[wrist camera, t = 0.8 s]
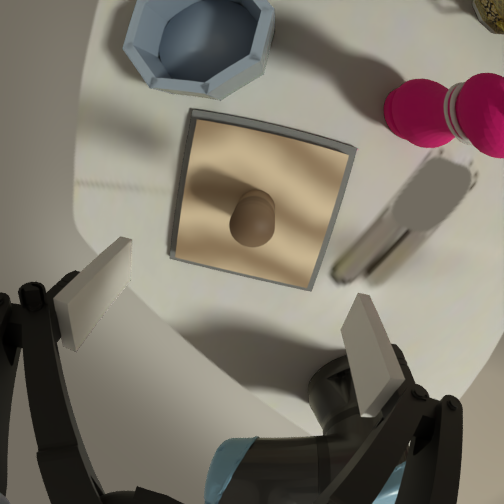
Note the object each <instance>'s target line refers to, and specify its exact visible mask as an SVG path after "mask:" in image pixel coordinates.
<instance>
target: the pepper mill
mask: <svg viewBox="0 0 504 504" xmlns="http://www.w3.org/2000/svg"><path fill="white" fill-rule="evenodd" d="M384 116H385V120H386V122H387V125H388V126H389V128H390V129H391V131H392V132H393V133H394V134H396V135H397V136H398V137H400V138H402V139H406V140H408V141H409V142H411V143H412V144H414V145H416V146H419V147H424V148H435V147H439V146H442V145H444V144H447V143H448V142H450V141H451V140H452V139H453V138H455V137H456V138H457V139H458V140H459V141H461V142H462V143H464V144H467V145H473V146H475V147H476V148H477V149H478V150H479V151H480V152H482V153H484V154H486V155H488V156H491V157H495V158H504V77H502V76H500V75H497V74H493V73H480V74H477V75H474V76H472V77H471V78H470V79H468V80H467V81H466V82H464V83H457V84H455V85H453V86H452V87H451V88H450V89H447V88H446V87H444V86H443V85H441V84H439V83H437V82H434V81H431V80H428V79H413V80H409V81H407V82H405V83H404V84H402V85H401V86H400V87H399V88H397V89H395V90H393V91H392V92H391V93H390V94H389V95H388V96H387V98H386V100H385V103H384Z"/></svg>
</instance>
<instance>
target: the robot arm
mask: <svg viewBox="0 0 504 504" xmlns="http://www.w3.org/2000/svg"><path fill="white" fill-rule="evenodd" d="M131 254H132V239H129V238H125V237H119V238H118V239H117V240H116V241H115V242H114V243H112V244H111V245H110V246H109V247H108V248H107V249H105V250H104V251H103V252H102V253H101V254H100V255H99V256H98V257H97V258H96V259H94V260H93V261H92V262H91V263H90V264H89V265H88V266H87V267H86V268H85V269H84V270H82V271H81V272H79V271H76V270H75V271H73V272H70V273H68V274H66V275H65V276H64V277H63V278H62V279H61V281H59V282H58V283H57V284H56V285H54V286H53V287H52V288H51V289H50V290H49V291H48V292H47V293H46V290H45V287H44V285H43V284H41V283H38V282H30V283H26V284H24V285H22V286H21V287H20V288H19V291H18V294H19V299H20V303H21V305H20V304H13V303H11V301H10V298H9V296H8V295H7V294H6V293H0V504H10V502H9V501H8V499H7V498H6V489H7V453H8V433H9V421H10V412H11V403H12V395H13V388H14V383H15V377H16V371H17V366H18V361H19V356H20V352H21V348H23V357H24V370H25V378H26V387H27V393H28V400H29V407H30V412H31V418H32V422H33V428H34V432H35V437H36V441H37V445H38V452H37V461H38V465H39V468H40V472H41V475H42V478H43V482H44V484H45V487H46V491H47V493H48V496H49V499H50V502H51V504H183V503H181V502H179V501H177V500H175V499H173V498H171V497H169V496H167V495H164V494H160V493H157V492H154V491H150V490H147V489H144V488H141V487H138V486H137V487H136V491H116V492H111V493H107V494H105V493H104V490H103V488H102V486H101V484H100V482H99V480H98V478H97V476H96V474H95V472H94V470H93V467H92V465H91V462H90V460H89V457H88V454H87V452H86V449H85V447H84V444H83V441H82V438H81V435H80V432H79V429H78V426H77V423H76V420H75V417H74V413H73V410H72V406H71V403H70V399H69V396H68V392H67V387H66V383H65V379H64V375H63V371H62V366H61V361H60V356H59V352H58V346H57V342H58V341H59V339H60V338H61V339H62V344H63V347H66V348H68V349H70V350H73V351H75V352H77V351H78V349H79V348H80V346H81V345H82V344H83V342H84V341H85V339H86V338H87V337H88V335H89V334H90V333H91V331H92V330H93V329H94V327H95V326H96V324H97V323H98V322H99V321H100V319H101V318H102V317H103V315H104V314H105V313H106V311H107V310H108V309H109V307H110V306H111V304H112V303H113V302H114V301H115V300H116V298H117V297H118V296H119V295H120V293H121V292H122V291H123V289H124V288H125V287H126V286H127V284H128V283H129V282H130V281H131ZM341 333H342V337H343V341H344V345H345V349H346V353H347V356H344V357H341V358H338V359H336V360H334V361H332V362H330V363H328V364H327V365H325V366H324V367H322V368H321V369H320V370H319V371H318V372H317V373H316V374H315V375H314V376H313V378H312V379H311V381H310V383H309V387H308V397H309V404H310V407H311V409H312V410H313V412H314V414H315V416H316V418H317V420H318V422H319V424H320V425H321V427H322V429H323V436H310V437H291V438H290V437H289V438H259V437H257V436H255V437H253V438H231V439H228V440H226V441H224V442H223V443H222V444H221V445H220V446H219V447H218V449H217V451H216V453H215V455H214V457H213V459H212V462H211V464H210V467H209V471H208V475H207V479H206V484H205V492H204V499H205V504H456V503H457V496H458V489H459V480H460V470H461V458H462V437H463V436H462V435H463V409H462V404H461V403H460V401H459V400H458V399H457V398H456V397H454V396H452V395H445V396H444V397H443V398H442V399H441V400H440V401H439V400H435V399H432V398H429V394H428V392H427V391H426V389H424V388H423V387H422V386H420V385H418V384H415V381H414V379H413V376H412V374H411V371H410V369H409V367H408V366H407V362H406V360H405V357H404V355H403V353H402V351H401V350H400V349H399V347H398V346H397V345H396V344H391V343H390V340H389V338H388V336H387V333H386V331H385V329H384V326H383V324H382V322H381V320H380V317H379V315H378V313H377V311H376V308H375V306H374V304H373V302H372V300H371V298H370V295H366V294H361V293H358V294H357V296H356V298H355V301H354V303H353V305H352V307H351V309H350V311H349V313H348V315H347V318H346V320H345V322H344V324H343V326H342V328H341ZM410 440H411V441H410ZM409 442H410V446H409Z"/></svg>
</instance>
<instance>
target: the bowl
mask: <svg viewBox="0 0 504 504" xmlns="http://www.w3.org/2000/svg"><path fill="white" fill-rule="evenodd" d="M241 5H242V6H243V7H242V6H241ZM274 32H275V13H274V8H273V7H272V6H271V5H270V3H269V2H268V1H267V0H137V2H136V5H135V8H134V11H133V14H132V17H131V21H130V24H129V27H128V31H127V34H126V38H125V41H124V45H123V48H122V49H123V50H124V51H125V53H126V54H127V56H128V57H129V59H130V60H131V62H132V63H133V64H134V66H135V67H136V69H137V70H138V72H139V73H140V75H141V76H142V78H143V79H144V80H145V82H146V83H147V85H148V86H149V88H151V89H155V90H160V91H164V92H167V93H171V94H179V95H187V96H195V97H202V98H209V99H215V100H220V101H221V100H222V99H224V98H226V97H227V96H229V95H230V94H232V93H233V92H235V91H237V90H238V89H240V88H241V87H243V86H245V85H246V84H248V83H250V82H251V81H253V80H255V79H257V78H258V77H260V76H262V75H264V71H265V67H266V63H267V59H268V55H269V51H270V47H271V43H272V39H273V35H274ZM159 56H160V58H159Z"/></svg>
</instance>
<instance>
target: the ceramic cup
mask: <svg viewBox="0 0 504 504" xmlns="http://www.w3.org/2000/svg"><path fill="white" fill-rule="evenodd" d="M472 6H473V8H474V10H475V12H476V14H477V17H478V19H479V21H480V22H481V23H482V24H483V25H484V26H485V27H486V28H487V29H488V30H489V31H490V32H491V33H494V34H504V0H473V3H472Z"/></svg>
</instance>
